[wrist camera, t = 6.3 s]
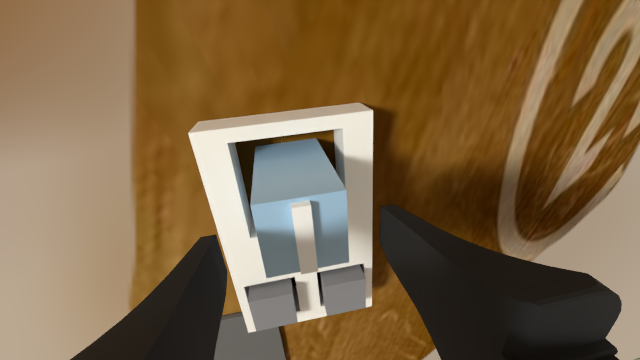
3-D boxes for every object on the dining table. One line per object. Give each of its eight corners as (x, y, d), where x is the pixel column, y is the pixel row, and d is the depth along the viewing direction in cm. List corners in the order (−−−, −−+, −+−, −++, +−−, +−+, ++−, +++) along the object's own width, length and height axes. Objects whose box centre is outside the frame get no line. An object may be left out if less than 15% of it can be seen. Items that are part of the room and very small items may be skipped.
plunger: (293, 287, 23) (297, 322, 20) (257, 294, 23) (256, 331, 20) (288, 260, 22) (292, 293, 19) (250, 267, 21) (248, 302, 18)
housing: (362, 283, 25) (371, 305, 23) (250, 306, 23) (248, 332, 21) (359, 102, 18) (373, 110, 15) (198, 121, 16) (188, 133, 14)
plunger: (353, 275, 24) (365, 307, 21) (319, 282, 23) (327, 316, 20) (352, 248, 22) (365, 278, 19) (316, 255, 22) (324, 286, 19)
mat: (286, 360, 28) (286, 364, 27) (203, 379, 26) (203, 384, 26) (274, 305, 24) (274, 309, 24) (178, 325, 23) (177, 329, 23)
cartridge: (320, 190, 20) (351, 268, 13) (265, 199, 19) (266, 284, 12) (316, 138, 18) (349, 194, 11) (255, 146, 18) (249, 210, 11)
